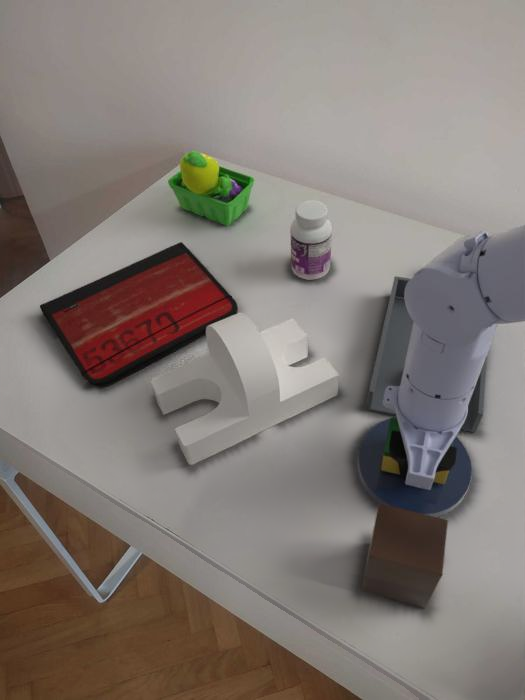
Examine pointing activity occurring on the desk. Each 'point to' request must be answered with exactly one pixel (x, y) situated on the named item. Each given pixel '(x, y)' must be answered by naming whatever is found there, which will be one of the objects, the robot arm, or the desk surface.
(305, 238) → the pill bottle
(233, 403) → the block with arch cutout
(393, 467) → the sponge
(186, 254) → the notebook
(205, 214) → the fruit basket
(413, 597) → the brown wooden block
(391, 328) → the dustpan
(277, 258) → the desk surface
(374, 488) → the plate
